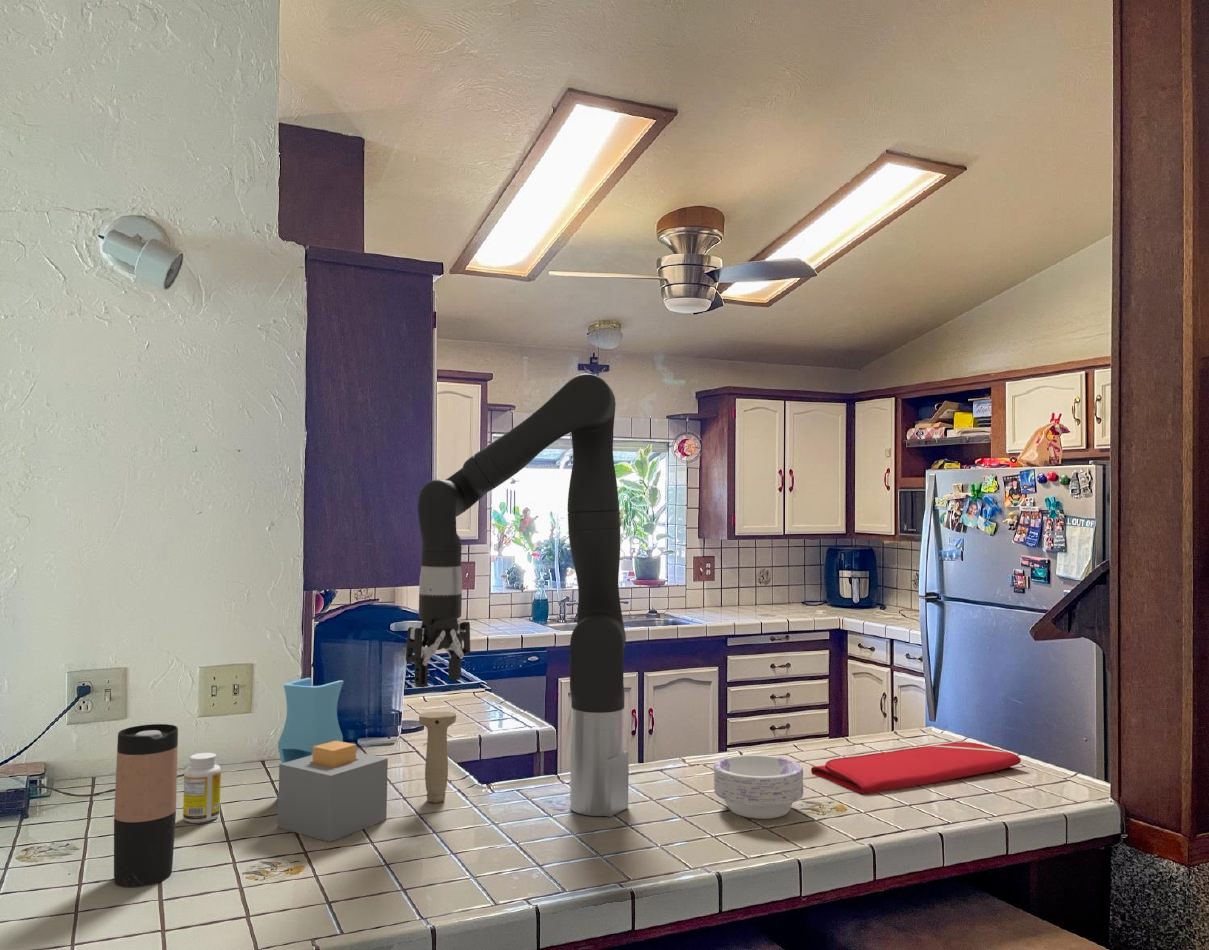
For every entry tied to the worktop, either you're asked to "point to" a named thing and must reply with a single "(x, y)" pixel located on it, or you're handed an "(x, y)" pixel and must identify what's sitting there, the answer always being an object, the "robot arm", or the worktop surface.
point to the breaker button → (334, 753)
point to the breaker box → (332, 796)
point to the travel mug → (145, 804)
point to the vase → (309, 718)
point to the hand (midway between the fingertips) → (438, 683)
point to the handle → (436, 753)
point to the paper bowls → (758, 785)
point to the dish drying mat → (914, 766)
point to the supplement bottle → (202, 789)
